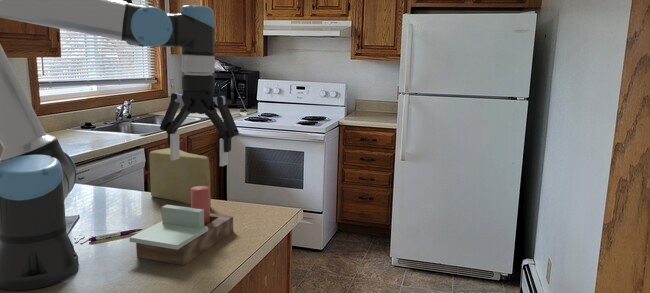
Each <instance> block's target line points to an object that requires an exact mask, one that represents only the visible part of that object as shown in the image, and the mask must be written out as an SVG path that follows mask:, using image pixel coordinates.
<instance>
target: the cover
mask: <svg viewBox="0 0 650 293" xmlns="http://www.w3.org/2000/svg"><path fill="white" fill-rule="evenodd" d="M207 231H208V227H207V226H204V210H203V209H196V208H191V207H188V206H181V205H173V204H165V205H163V206H161V221H159V222H158V223H156V224H153V225H152V226H149V227H148V228H146V229H144V230H142V231H140V232H137V233H136V234H134V235H132V236H130V237H129V242H130V243H135V244H136V243H140V244H146V245H152V246H158V247H164V248H170V249H176V250H178V249H179V248H181V247H183V246H184V245H186V244H188V243H189V242H191V241H192V240H194V239H196V238H197V237H199V236H201V235H202V234H204V233H205V232H207Z"/></svg>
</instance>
